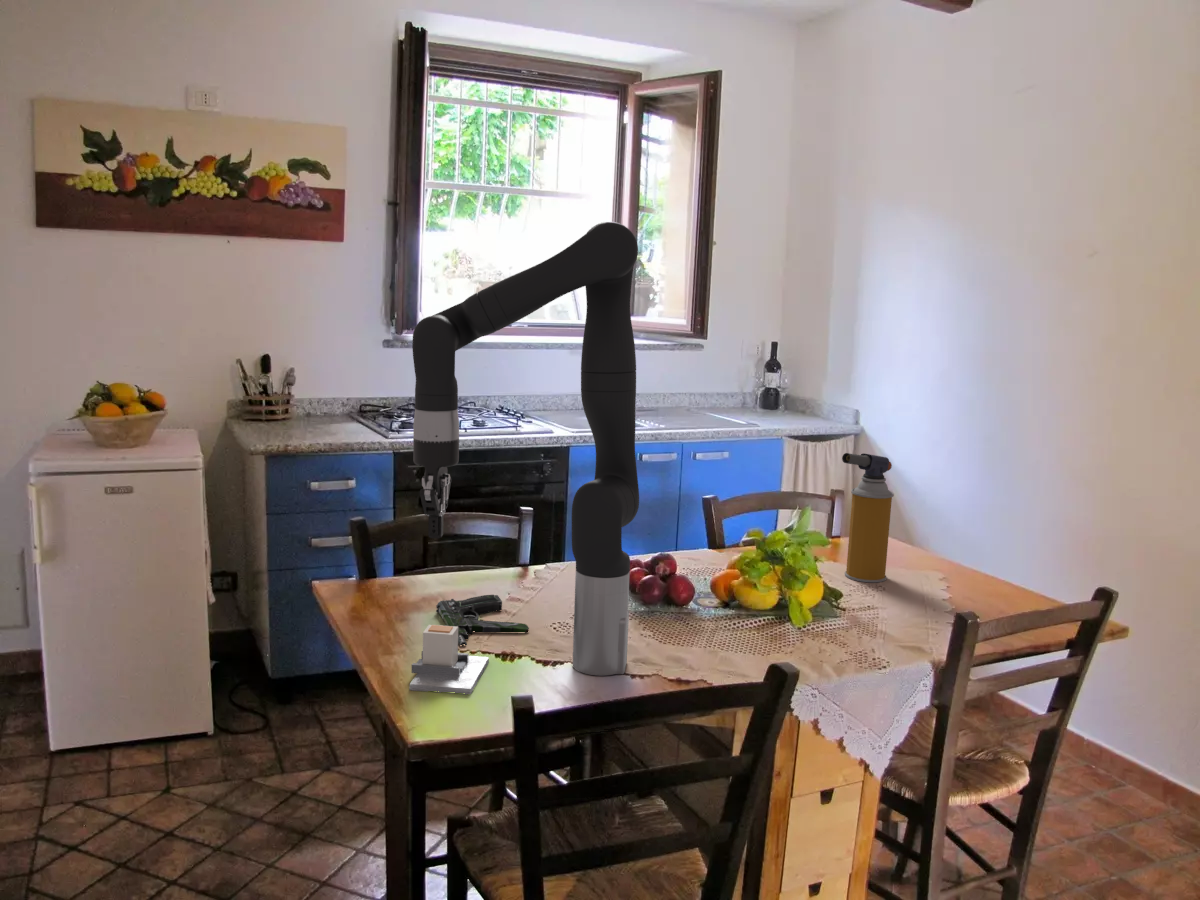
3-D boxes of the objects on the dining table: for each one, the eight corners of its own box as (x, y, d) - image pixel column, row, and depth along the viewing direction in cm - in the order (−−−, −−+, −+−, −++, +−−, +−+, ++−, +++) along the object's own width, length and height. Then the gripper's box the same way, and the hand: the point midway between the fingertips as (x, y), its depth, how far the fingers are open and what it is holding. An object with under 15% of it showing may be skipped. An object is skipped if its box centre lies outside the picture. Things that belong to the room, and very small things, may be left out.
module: (457, 660, 175) (458, 625, 174) (452, 669, 171) (452, 633, 170) (429, 658, 176) (429, 623, 175) (422, 667, 172) (422, 631, 171)
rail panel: (488, 662, 179) (489, 649, 179) (470, 694, 165) (470, 680, 165) (426, 658, 180) (426, 644, 180) (403, 689, 166) (403, 675, 166)
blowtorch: (895, 578, 239) (907, 450, 234) (852, 589, 229) (863, 456, 224) (862, 568, 246) (872, 444, 241) (819, 579, 236) (828, 449, 231)
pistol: (535, 648, 192) (455, 653, 186) (504, 606, 211) (432, 609, 206) (536, 632, 191) (456, 636, 186) (506, 591, 211) (433, 594, 205)
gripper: (449, 443, 165) (449, 548, 168) (466, 431, 178) (465, 529, 181) (403, 441, 166) (403, 546, 169) (423, 429, 179) (423, 526, 182)
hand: (435, 537), depth 175 cm, fingers closed
